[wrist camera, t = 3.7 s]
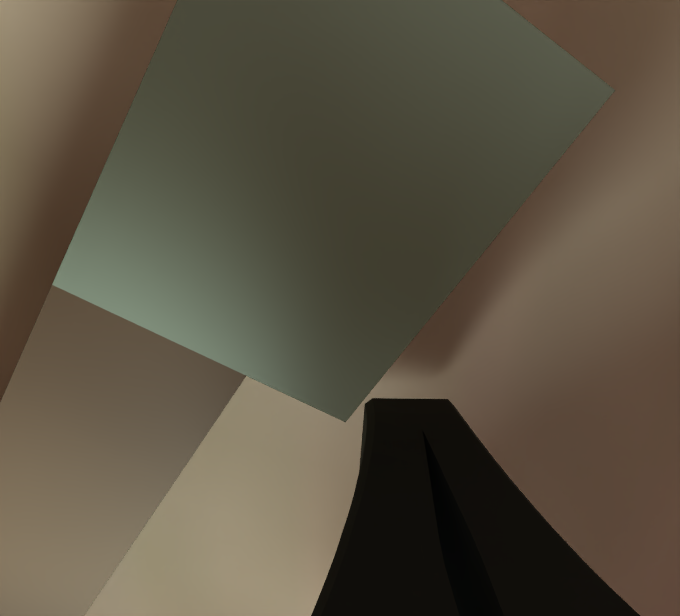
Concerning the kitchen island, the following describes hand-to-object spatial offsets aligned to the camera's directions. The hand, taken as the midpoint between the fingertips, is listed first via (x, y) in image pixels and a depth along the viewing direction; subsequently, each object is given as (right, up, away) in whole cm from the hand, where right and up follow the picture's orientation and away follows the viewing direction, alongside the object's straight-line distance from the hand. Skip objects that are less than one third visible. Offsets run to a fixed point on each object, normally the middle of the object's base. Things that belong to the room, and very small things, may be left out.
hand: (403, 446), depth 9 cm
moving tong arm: (-5, 0, +1) cm, 5 cm away
